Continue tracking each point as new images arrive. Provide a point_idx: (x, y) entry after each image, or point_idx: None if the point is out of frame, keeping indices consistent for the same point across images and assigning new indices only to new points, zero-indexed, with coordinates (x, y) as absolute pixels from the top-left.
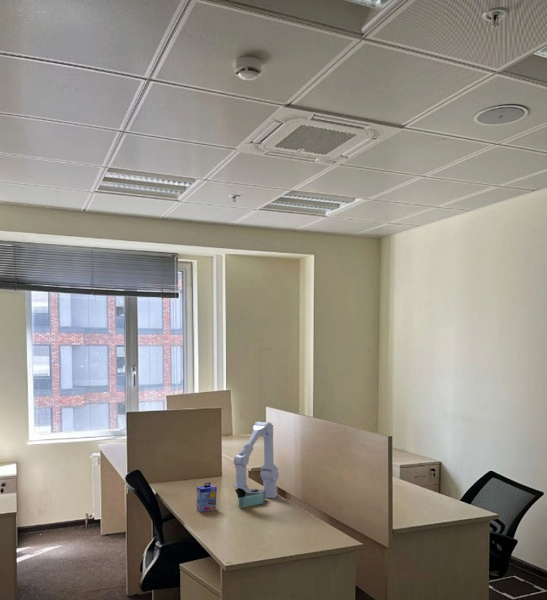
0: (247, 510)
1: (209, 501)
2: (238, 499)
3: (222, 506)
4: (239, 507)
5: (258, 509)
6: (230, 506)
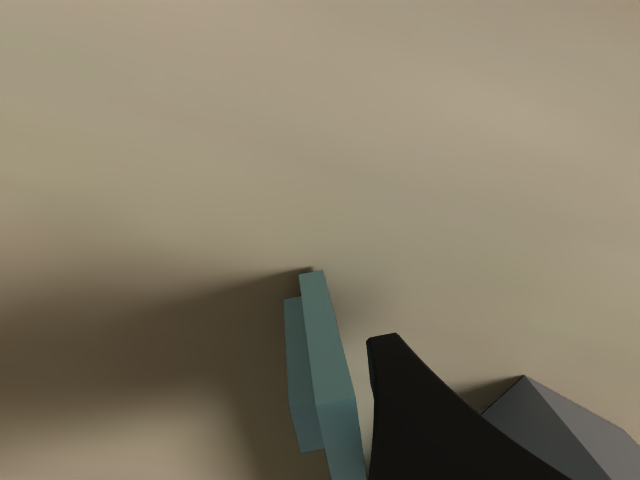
0: (127, 345)
1: None
2: (341, 365)
3: (553, 18)
4: (301, 280)
5: (142, 460)
6: (461, 169)
